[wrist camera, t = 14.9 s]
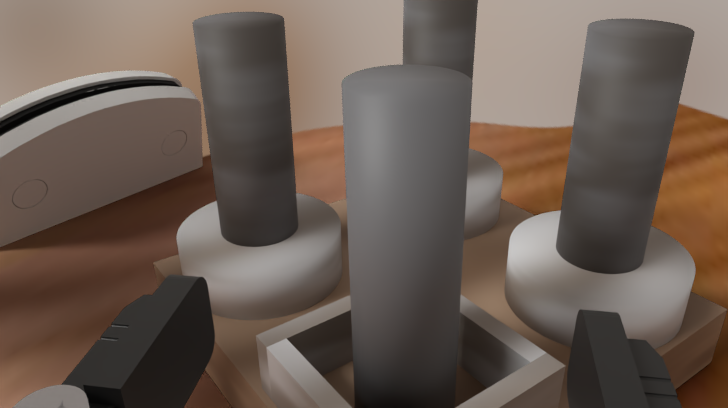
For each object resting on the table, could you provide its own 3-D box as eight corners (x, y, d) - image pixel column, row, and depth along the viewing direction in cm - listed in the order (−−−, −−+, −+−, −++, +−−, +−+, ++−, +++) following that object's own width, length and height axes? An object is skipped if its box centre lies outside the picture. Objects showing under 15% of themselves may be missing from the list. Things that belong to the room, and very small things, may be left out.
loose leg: (335, 397, 23) (316, 79, 18) (410, 357, 25) (414, 58, 20) (396, 461, 21) (395, 111, 15) (475, 411, 23) (500, 83, 17)
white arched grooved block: (167, 149, 53) (174, 42, 46) (203, 181, 51) (216, 73, 45) (-50, 228, 41) (-79, 99, 35) (-14, 272, 40) (-38, 144, 33)
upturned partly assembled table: (162, 310, 33) (104, 17, 26) (436, 208, 43) (446, -26, 36) (382, 615, 19) (382, 167, 12) (711, 362, 29) (813, 32, 22)
